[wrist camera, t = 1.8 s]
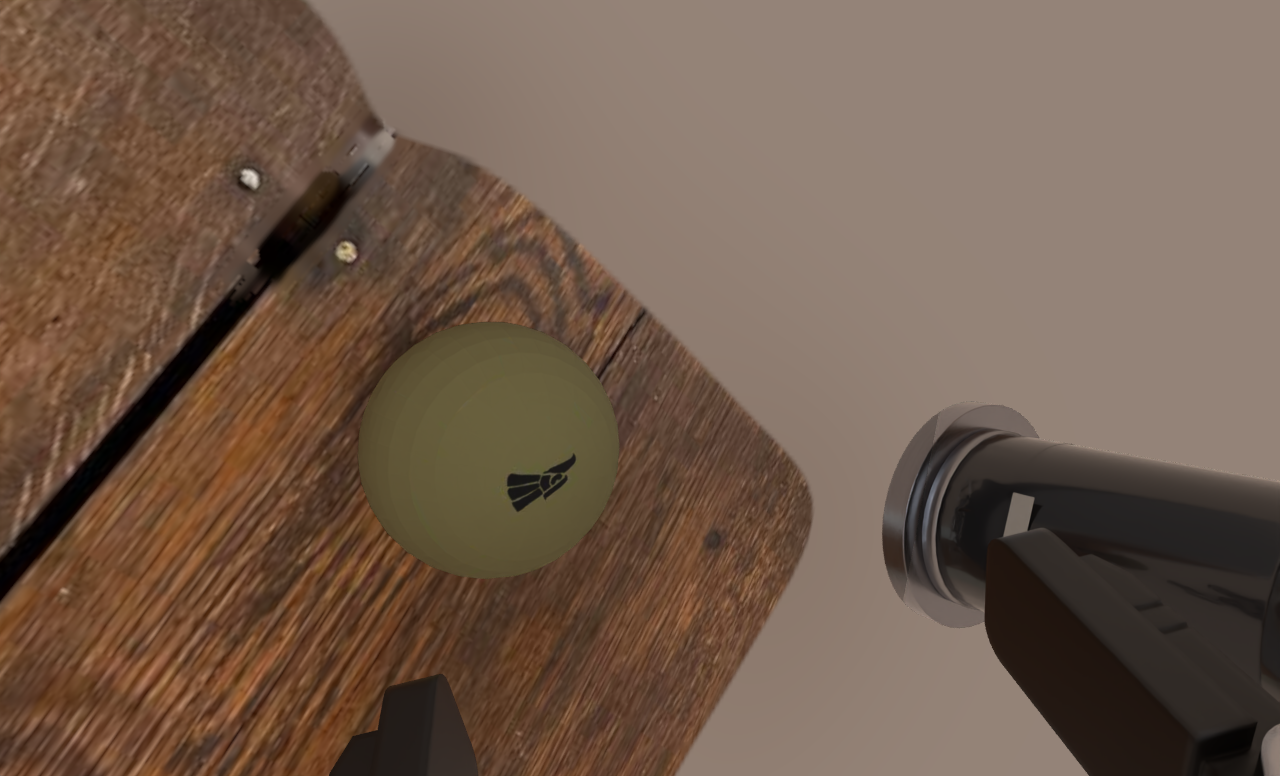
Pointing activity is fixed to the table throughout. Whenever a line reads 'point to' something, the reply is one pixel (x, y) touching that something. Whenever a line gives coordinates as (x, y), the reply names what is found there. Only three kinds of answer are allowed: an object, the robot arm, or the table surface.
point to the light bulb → (488, 450)
